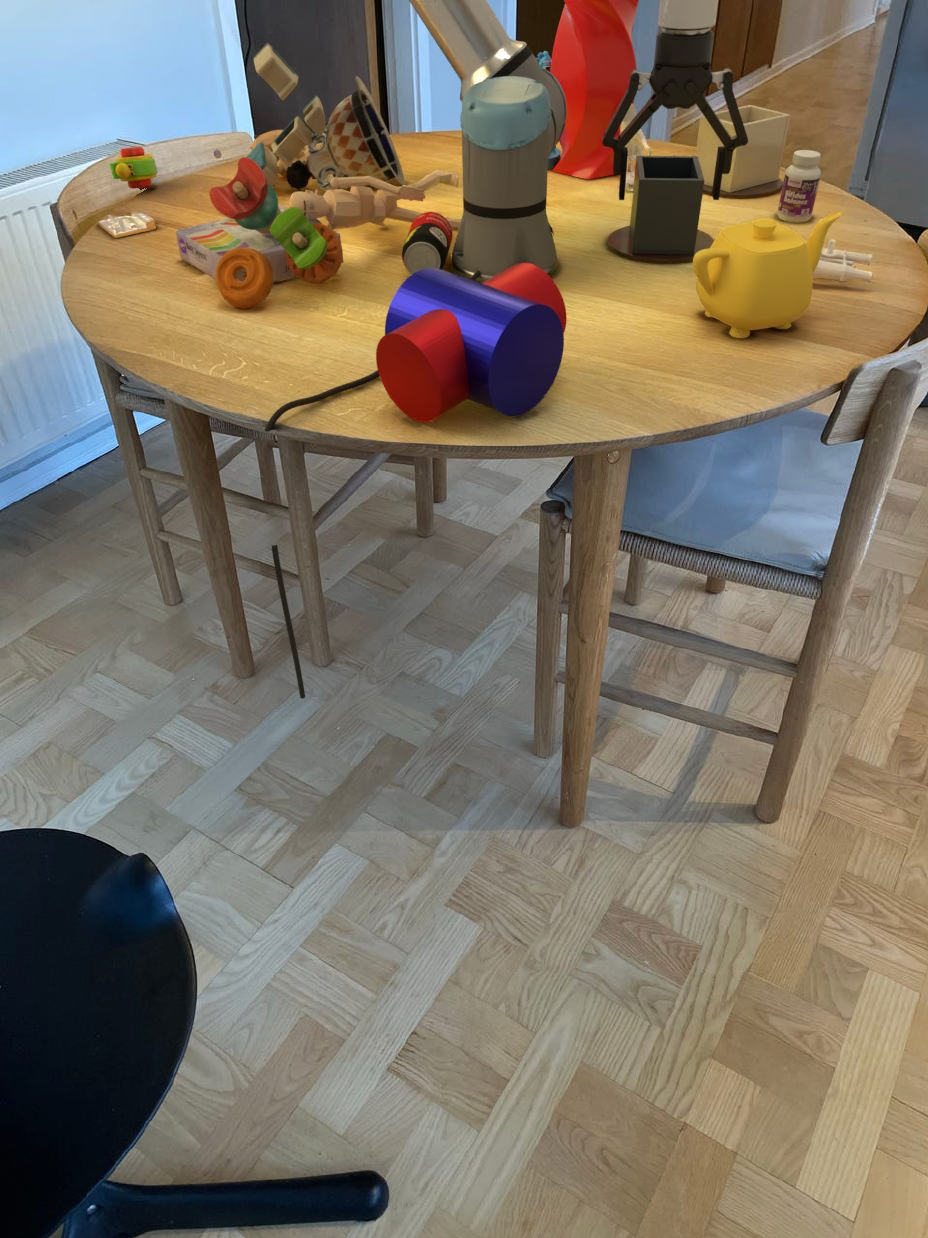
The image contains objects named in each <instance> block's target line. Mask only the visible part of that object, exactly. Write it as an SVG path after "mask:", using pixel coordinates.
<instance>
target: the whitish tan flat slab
mask: <svg viewBox="0 0 928 1238" xmlns="http://www.w3.org/2000/svg"><path fill="white" fill-rule="evenodd" d="M129 212H130V215H121V216H118V217H113V215H111V214H107V216H106V218H107V219H103V220H99V221H97V224H98V226H99V227H100V228H102V229H103V230H104V231H105V232H107V233H108V234H109V235H111V236H112V237H113V238H115V239H118V238H122V237H126V236H131V235H136V234H140V233H144V232H149V231H155V230H157V224H156V220H155V219H154V218H152V217H151V216H150V215H149V214H147V213H145V212H141V211H131V210H130V211H129Z"/></svg>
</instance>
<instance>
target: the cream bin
mask: <svg viewBox="0 0 928 1238" xmlns="http://www.w3.org/2000/svg"><path fill="white" fill-rule="evenodd" d="M738 109H739V112H740V115H741V118H742V121H743V125H744V128H745V131H746V134H747V137H748V143H747V144H746V145H744V146H739V147H737V148H735V149H734V151H733V156H732V163H731V170H730V172H729V174H722V180H721V187H720V190H723V191H726V192H729V193H731V192H734V191H738V190H742V189H746V188H750V187H753V186H757V185H761V184H765V183H768V182H772V181H776V180H779V178H780V174H781V170H782V169H781V168H782V163H783V158H784V152H785V148H786V142H787V138H788V137H787V136H788V131H789V127H790V126H789V125H790V122H791V121H790V120H791V114H789V113H784V112H781V111H777V110H772V109H768V108H766V107H761V106H757V105H753V104H749V105H744V106H738ZM714 112H715V111H714ZM715 114H716V115H717V117H718V118H719V120H720V121H721V123H722V124H723V126H724V127H725V129H726V130H727V132H728V133H729V135H730V136H731V137H733V136H735V135H736V132H735V129H734V126H733V123H732V120H731V117H730V113H729V110H728V109H725V110H720V111H716V112H715ZM697 134H698V135H697V140H696V147H695V154H694V156H698V160H699V163H700V167H701V170H702V174H703V177H704V184H705V185H708V186H711V187H713V181H714V174H715V166H716V159H717V151H718V147H724V145H723V143H722V142H721V140H720V139H719V137H718V136H717V134H716V133H715V131H714V130H713V128H712V127H711V125H710V124H709V122H708V121H707V119H706V118H705V116H704V115H703V114H701V115H700V118H699V124H698V133H697Z"/></svg>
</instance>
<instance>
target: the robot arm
mask: <svg viewBox="0 0 928 1238" xmlns="http://www.w3.org/2000/svg"><path fill="white" fill-rule="evenodd" d="M408 2H409V3H410V5H411V6H412V8H413V9H414V11H415V12H416V14H417V15H418V18H420V20H421V22H422V23H423V25H424V26H425V27H426V29H427V31H428V32H429V34H430V35H431V37H432V39H433V40H434V41H435V43H436V45H437V46H438V47H439V49H440V51H441V52H442V54H443V55H444V57H445V58H446V60H447V62H448V63H449V65H450V67H451V68H452V69H453V71H454V73H455V74H456V75H457V77H458V79H459V80H460V93H459V100H460V102H461V112H460V116H459V117H460V118H459V119H460V121H459V122H460V128H461V164H462V206H463V207H462V208H463V209H462V215H461V218H460V219H461V223H460V226H459V230H458V231H457V234H456V237H455V241H454V244H453V249H452V252H451V270H452V273H453V274H456V275H458V276H461V277H464V278H467V279H470V280H473V281H476V282H479V283H482V282H484V281H486V280H488V279H490V278H492V277H494V276H495V275H497V274H499V273H501V272H503V271H505V270H506V269H508V268H510V267H512V266H514V265H516V264H519V263H529V264H533V265H535V266H537V267H539V268H541V269H542V270H543V271H545V272H546V273H547V274H548V275H549V276H550V277H551V276H552V275H553V274H554V273H555V272H556V270H557V268H558V267H557V266H558V265H557V264H558V256H557V255H558V254H557V253H558V252H557V248H556V244H555V240H554V236H555V234H554V229H553V227H552V225H551V224H550V222H549V218H548V214H547V195H548V193H547V192H548V174H549V173H548V171H549V169H548V157H549V156H550V154H551V152H552V150H553V149H554V148H555V146H556V147H557V145H558V143H560V142H559V140H560V138H561V136H562V134H563V131H564V128H565V123H566V115H567V106H566V99H565V95H564V92H563V89H562V87H561V85H560V83H559V82H558V80H557V79H556V78H555V77H554V76H553V75H552V74H551V73H550V72H549V71H547V70H546V69H544V68H542V67H541V66H540V65H539V63H538V61H537V60H536V58H537V57H536V56H535V55H534V53H533V51H532V50H531V49H530V47H529V45H528V44H527V42H526V41H521V40H516V39H513V38H511V37H510V36H509V34H508V33H507V31H506V29H505V27H504V26H503V25H502V23H501V22H500V19H499V17H497V15H496V14H495V13H496V12H494V10H493V8H492V7H491V5H490V3H489V2H488V0H408ZM658 4H659V5H658V15H657V26H658V27H659V28H660V30H658V32H657V33H656V37H655V38H656V39H655V48H654V49H655V50H654V61H653V68H652V70H651V72H643V71H642V72H641V71H639V70H638V69H637V70H636V69H634V70H632V71H631V73H630V78H629V84H628V88H627V90H626V92H625V94H624V96H623V98H622V100H621V102H620V103H619V105H618V107H617V109H616V111H615V113H614V115H613V117H612V119H611V121H610V123H609V125H608V127H607V129H606V130H605V132H604V134H603V137H602V143H603V145H604V146H606V147H607V146H608V147H610V148H612V149H613V150H614V159H613V172H614V175H619V187H618V200H619V201H625V197H626V195H625V194H626V188H625V185H626V171H627V158H628V147H625V146H626V145H627V144H628V142H629V141H630V140H631V139H632V138H633V137H634V135H635V134H636V133H637V132H638V131H639V130H640V129H641V128H643V126H644V125H645V124H646V123H647V122H648V120H650V118H651V117H652V116H653V115H654V114H655V113H656V112H657V111H658V110H659V109H660V107H661V106H663V107H664V108H666V109H667V110H673V109H676V108H680V109H685V110H687V109H690V108H692V107H693V106H695V105H696V106H697V108H698V109H699V111H700V112H701V114H702V115H704V116H705V118H706V119H707V121H708V122H709V124H710V125H711V127H712V128H713V130H714V131H715V133H716V134H717V136H718V137H719V139H720V140H721V142H722V143H723V145H724V147H718V151H717V159H716V166H715V174H714V181H713V189H712V195H711V196H712V200H713V201H719V200H720V197H719V195H720V187H721V180H722V174H729V172H730V170H731V163H732V156H733V151H734V149H735V148H737V147H739V146H744V145H746V144H747V143H748V137H747V134H746V131H745V128H744V125H743V121H742V118H741V115H740V112H739V109H738V107H739V106H738V103H737V100H736V96H735V93H734V91H733V90H734V89H733V87H734V86H733V85H734V74H733V71H732V70H731V69H730V68H729V67H726V68H724V69H723V70H720V71H713V72H712V70H711V65H712V64H711V63H712V54H713V47H714V39H715V33H714V32H713V30H712V28H713V27H714V26H715V25H716V23H717V15H718V7H719V0H659V3H658ZM712 83H714V84H715V85H716V88H717V89H718V90H722V94H723V98H724V101H725V104H726V107H727V110H729V113H730V117H731V120H732V123H733V126H734V129H735V132H736V135H735V136H733V137H731V136H730V135H729V133H728V132H727V130H726V129H725V127H724V126H723V124H722V123H721V121H720V120H719V118H718V117H717V115H716V114H715V111H714V109H713V107H712V106H711V104H710V103H709V101H708V100H707V97H705V95H704V94H705V93H706V91H707V90H708V89H709V88H710V86H711V84H712ZM646 84H649V86H650V88H651V90H652V91H653V94H652V95H651V96H650V97H649V99H648V100H647V101H646V103H645V104H644V105H643V107H642V108H641V109H640V110H639V111H638V112H637V113H636V116H635V117H634V118H633V120H632V121H631V122H630V123H629V124H628V126H627V127H626V128H625V129H624V130H623V131H622V133H621V134H620V135H619V136H618V137H614V136H615V134H616V132H617V130H618V129H619V127H620V125H621V123H622V121H623V119H624V117H625V115H626V113H627V111H628V110H629V108H630V106H631V104H632V102H633V100H634V101H635V99H634V98H636V96H637V93H638V91H639V92H640V91H642V90H643V89H644V88H645V86H646ZM378 378H380V376H379V372H378V369H377V370H376V371H373V372H372V373H369V374H368V375H366V376H363V377H361V378H359V379H356V380H353V381H349V382H346V383H344V384H340V385H338V386H336V387H333V388H330V389H327V390H325V391H323V392H321V393H318V394H314V395H312V396H308V397H304V398H299V399H295V400H291V401H289V402H287V403H285V404H283V405H281V406H280V407H279V408H278V409H276V410H275V412H274V413H273V414H272V416H271V417H270V418H269V420H268V422H266V425H265V428H264V432H266V433H267V432H268V433H269V432H271V431H272V430H273V428H274V426H275V425H276V423H277V422H278V420H279V419H280V418H281V416H282V415H284V414H285V413H286V412H288V411H290V410H292V409H296V408H298V407H301V406H307V405H310V404H314V403H318V402H321V401H323V400H325V399H327V398H330V397H332V396H335V395H337V394H340V393H343V392H346V391H349V390H352V389H354V388H358V387H360V386H363V385H365V384H369V383H370V382H372V381H374V380H376V379H378ZM270 546H271V554H272V558H273V559H272V561H273V564H274V565H273V566H274V570H275V577H276V581H277V587H278V591H279V598H280V601H281V608H282V613H283V617H284V621H285V626H286V630H287V635H288V640H289V645H290V650H291V655H292V658H293V659H292V661H293V664H294V669H295V671H294V672H295V675H296V681H297V686H298V692H299V698H300V699H302V700H303V699H305V698H306V693H305V692H306V691H305V686H304V680H303V674H302V669H301V663H300V657H299V654H298V653H299V652H298V648H297V642H296V638H295V633H294V628H293V622H292V619H291V614H290V609H289V603H288V599H287V593H286V588H285V583H284V578H283V572H282V567H281V561H280V554H279V547H278V544H274V545H273V544H272V545H270Z"/></svg>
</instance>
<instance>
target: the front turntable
mask: <svg viewBox="0 0 928 1238" xmlns="http://www.w3.org/2000/svg"><path fill="white" fill-rule="evenodd" d="M714 240H715V239H714V238H713V237H712V236H711V235H710V234H709V233H706V232H705V231H703V230H701V229H698V231H697V238H696V245H695V252H694V255H678V254H632V245H631V233H630V225H626V226H623V227H620V228H618V229H615V230H613V231H612V232H611V233H610V234H609V235H608V237H607V246H608V248H609V249H610V250H611V251H612V252H613V253H615V254H616V255H618V256H620V257H623V258H625V259H628V260H632V261H637V262H642V263H648V264H649V263H650V264H663V265H664V264H668V265H670V264H683V263H690V262H693V258H694V256H695V254H696V253H697V252H698V251H700V250H703V249H708V248H710V247H711V245H712V243H713V242H714Z"/></svg>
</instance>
